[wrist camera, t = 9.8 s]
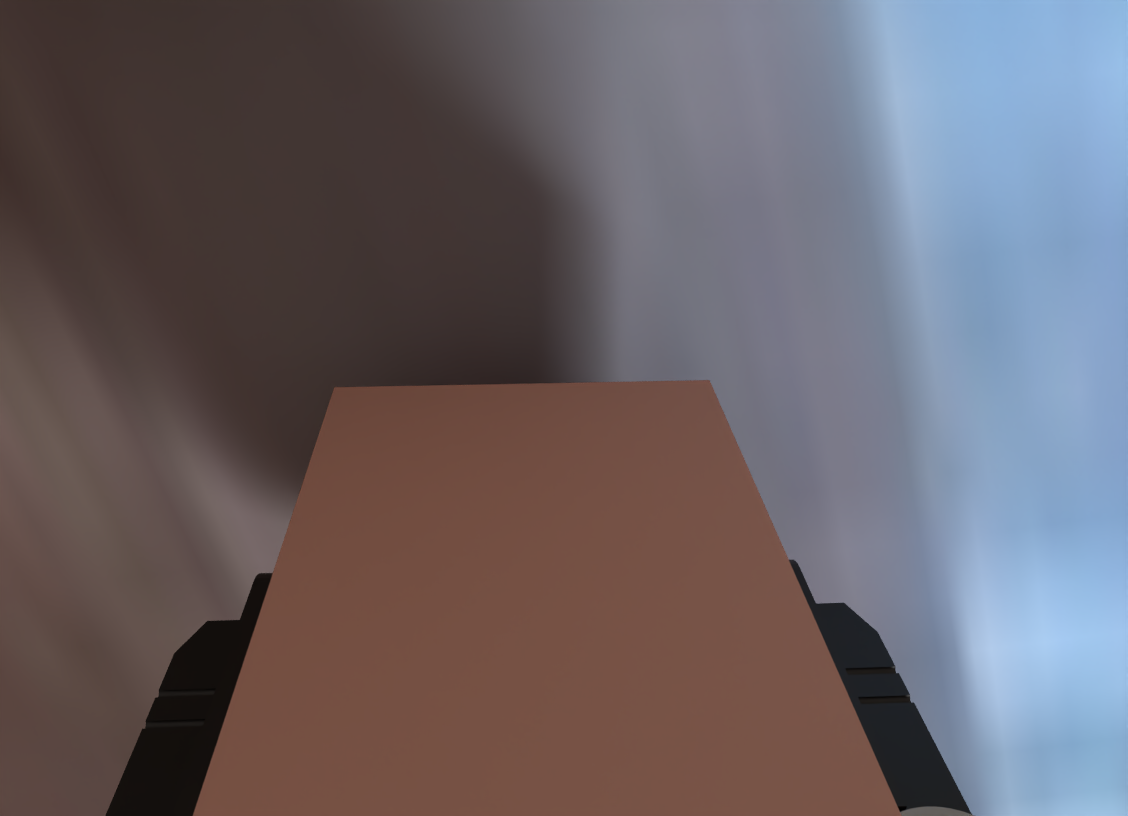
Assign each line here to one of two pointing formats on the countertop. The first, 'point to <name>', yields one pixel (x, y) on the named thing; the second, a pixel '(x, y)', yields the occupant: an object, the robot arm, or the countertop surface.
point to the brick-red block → (536, 622)
